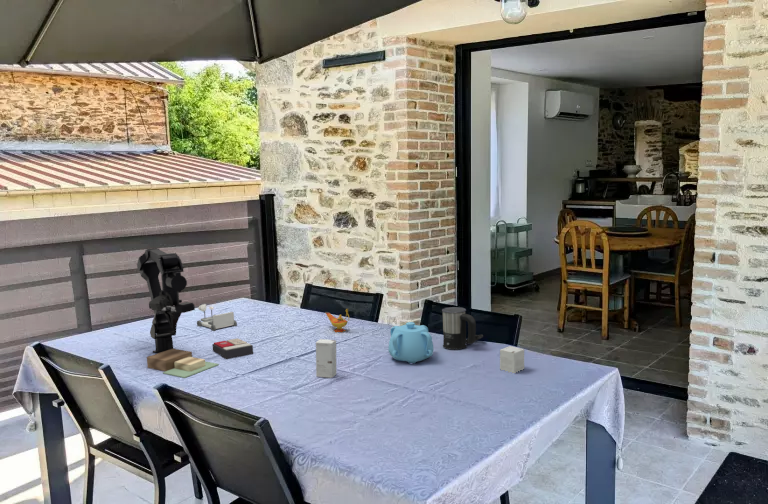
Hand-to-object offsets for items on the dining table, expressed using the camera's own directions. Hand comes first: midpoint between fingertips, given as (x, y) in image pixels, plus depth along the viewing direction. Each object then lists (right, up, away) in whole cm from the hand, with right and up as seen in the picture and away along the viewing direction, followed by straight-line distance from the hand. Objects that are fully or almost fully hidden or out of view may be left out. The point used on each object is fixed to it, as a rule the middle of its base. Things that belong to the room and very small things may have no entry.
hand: (173, 328), depth 236 cm
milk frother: (+110, -8, +10) cm, 111 cm away
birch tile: (+9, -13, -10) cm, 19 cm away
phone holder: (+2, -6, +52) cm, 52 cm away
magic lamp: (+59, -6, +37) cm, 70 cm away
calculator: (+20, -11, +9) cm, 25 cm away
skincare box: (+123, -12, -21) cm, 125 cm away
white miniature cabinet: (+60, -14, -22) cm, 65 cm away
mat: (+10, -13, -11) cm, 20 cm away
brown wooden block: (+1, -13, -5) cm, 14 cm away
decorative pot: (+89, -11, -6) cm, 90 cm away
